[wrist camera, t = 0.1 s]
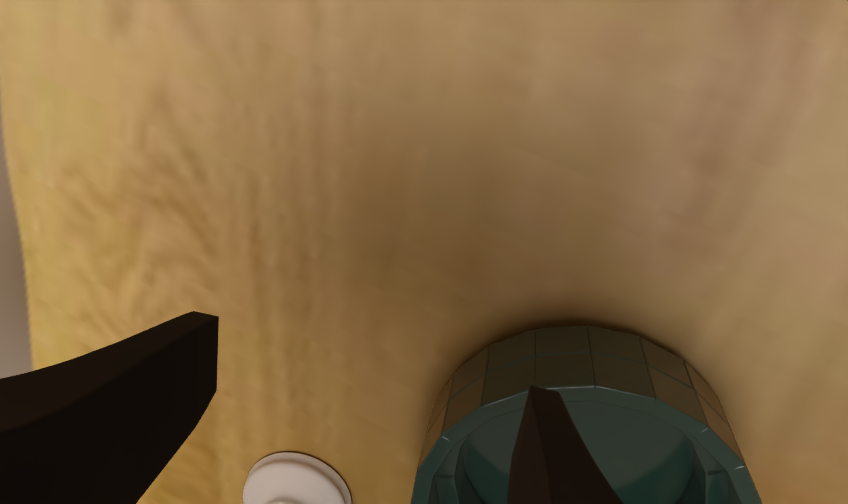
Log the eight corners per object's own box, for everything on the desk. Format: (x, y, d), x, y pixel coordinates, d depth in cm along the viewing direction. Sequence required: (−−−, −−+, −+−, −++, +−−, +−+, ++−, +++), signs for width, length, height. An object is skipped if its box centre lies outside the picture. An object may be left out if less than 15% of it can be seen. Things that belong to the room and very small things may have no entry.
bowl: (675, 583, 28) (698, 685, 24) (411, 519, 29) (391, 607, 25) (773, 355, 24) (821, 434, 20) (455, 289, 25) (439, 350, 21)
